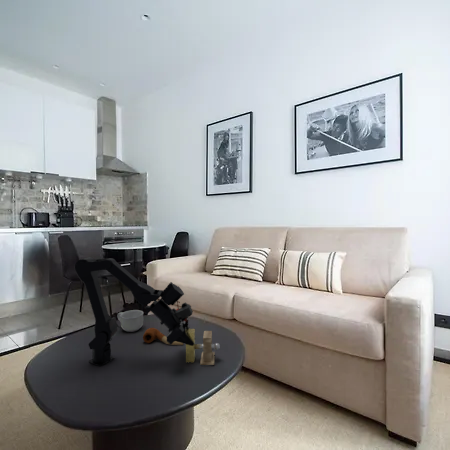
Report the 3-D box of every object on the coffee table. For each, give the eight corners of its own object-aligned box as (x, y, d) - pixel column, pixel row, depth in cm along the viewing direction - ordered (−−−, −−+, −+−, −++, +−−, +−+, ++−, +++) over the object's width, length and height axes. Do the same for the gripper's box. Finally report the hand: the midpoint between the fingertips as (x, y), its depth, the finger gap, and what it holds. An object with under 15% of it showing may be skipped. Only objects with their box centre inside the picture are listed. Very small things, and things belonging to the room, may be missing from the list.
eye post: (200, 365, 100) (200, 339, 101) (201, 354, 109) (201, 329, 110) (214, 365, 101) (213, 339, 101) (214, 354, 110) (214, 329, 110)
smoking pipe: (148, 337, 126) (148, 325, 126) (187, 340, 123) (187, 327, 123) (141, 344, 119) (140, 330, 119) (181, 347, 116) (181, 333, 116)
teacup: (148, 328, 137) (148, 312, 138) (130, 335, 128) (130, 318, 128) (129, 323, 145) (129, 307, 145) (111, 329, 136) (111, 313, 136)
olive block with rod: (185, 362, 103) (185, 332, 103) (187, 357, 107) (187, 328, 107) (220, 362, 103) (220, 332, 103) (220, 357, 107) (220, 328, 107)
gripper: (176, 305, 96) (208, 337, 96) (183, 292, 114) (210, 319, 114) (153, 328, 95) (185, 360, 96) (164, 311, 114) (191, 338, 114)
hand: (194, 342), depth 105 cm, fingers closed on olive block with rod, 4 cm apart
